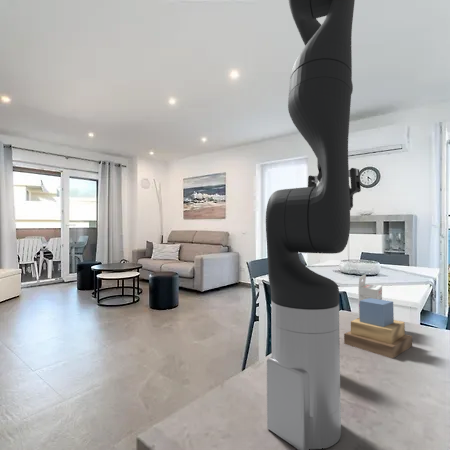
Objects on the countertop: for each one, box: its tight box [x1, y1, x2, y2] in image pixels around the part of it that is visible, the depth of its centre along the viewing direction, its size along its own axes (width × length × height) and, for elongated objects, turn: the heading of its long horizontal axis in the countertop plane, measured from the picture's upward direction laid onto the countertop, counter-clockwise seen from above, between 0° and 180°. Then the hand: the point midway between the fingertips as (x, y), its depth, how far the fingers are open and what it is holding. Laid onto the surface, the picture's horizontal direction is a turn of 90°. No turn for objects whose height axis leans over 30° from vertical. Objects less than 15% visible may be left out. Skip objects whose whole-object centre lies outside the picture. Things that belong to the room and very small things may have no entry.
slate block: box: [358, 298, 395, 327], centre depth 71 cm, size 6×6×5 cm
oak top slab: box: [350, 317, 406, 344], centre depth 71 cm, size 9×9×3 cm
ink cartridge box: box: [358, 273, 383, 318], centre depth 83 cm, size 9×5×15 cm, turn 144°
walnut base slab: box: [343, 330, 413, 359], centre depth 71 cm, size 11×11×3 cm
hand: (332, 211), depth 79 cm, fingers open, 8 cm apart
